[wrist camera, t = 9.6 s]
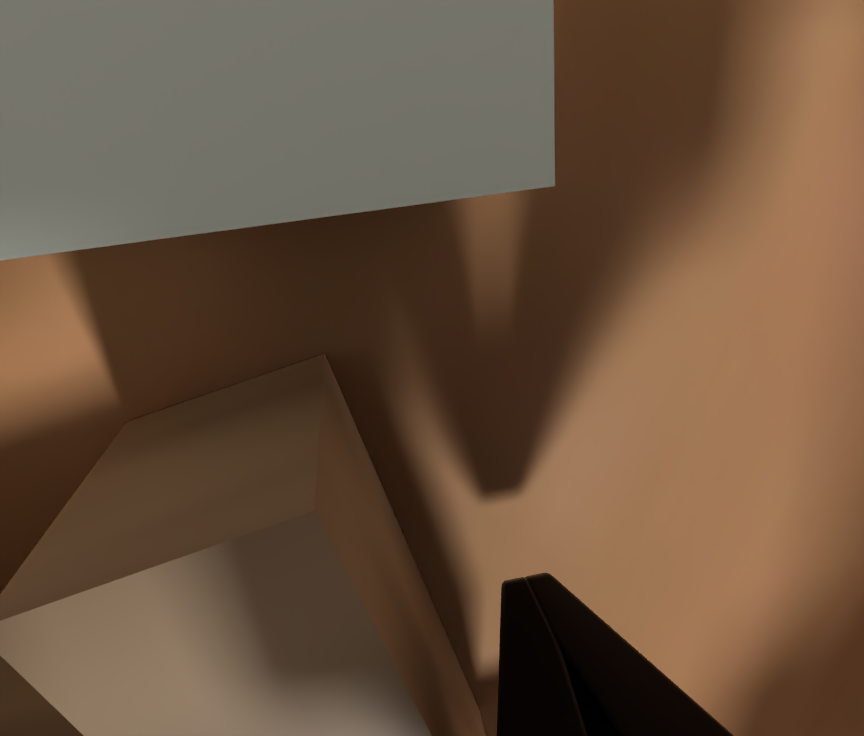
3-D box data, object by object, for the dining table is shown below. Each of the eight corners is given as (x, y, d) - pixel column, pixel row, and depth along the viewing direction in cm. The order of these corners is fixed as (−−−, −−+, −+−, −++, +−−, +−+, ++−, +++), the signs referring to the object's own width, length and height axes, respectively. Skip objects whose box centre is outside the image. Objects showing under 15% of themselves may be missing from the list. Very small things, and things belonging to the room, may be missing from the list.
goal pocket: (514, 791, 13) (560, 964, 10) (-53, 933, 12) (-170, 1174, 9) (460, 29, 6) (553, -49, 4) (-897, 167, 5) (-2385, 210, 2)
